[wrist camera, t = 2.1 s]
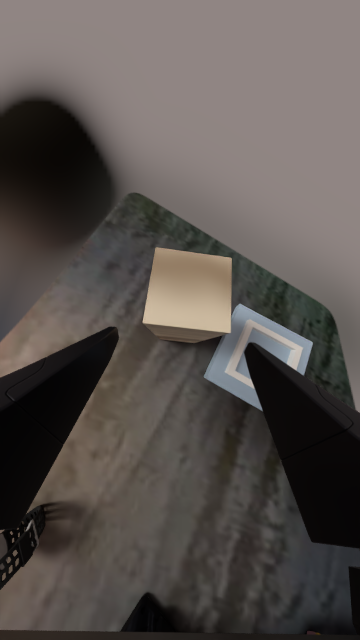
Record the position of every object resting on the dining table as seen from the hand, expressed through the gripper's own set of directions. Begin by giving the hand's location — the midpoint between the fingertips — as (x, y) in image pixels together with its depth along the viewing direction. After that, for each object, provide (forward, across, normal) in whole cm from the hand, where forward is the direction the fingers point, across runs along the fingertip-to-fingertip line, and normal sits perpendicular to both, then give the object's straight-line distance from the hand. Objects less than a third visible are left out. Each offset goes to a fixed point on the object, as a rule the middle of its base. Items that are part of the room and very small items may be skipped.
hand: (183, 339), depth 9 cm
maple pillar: (+9, 0, +5) cm, 11 cm away
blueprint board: (+7, -12, +8) cm, 16 cm away
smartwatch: (-7, +13, +21) cm, 26 cm away
